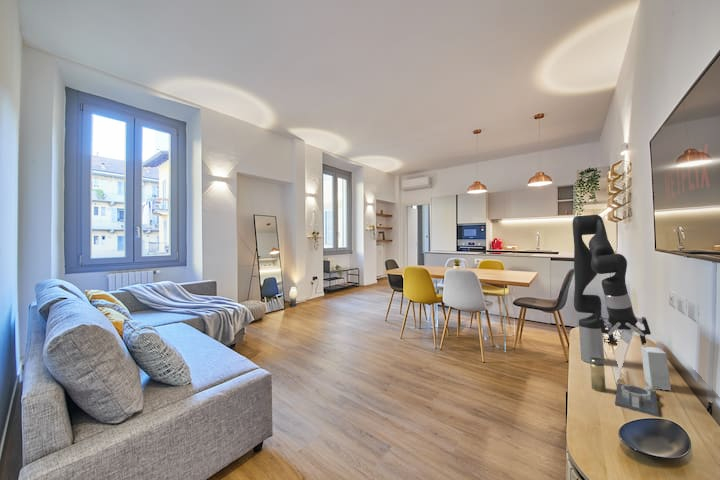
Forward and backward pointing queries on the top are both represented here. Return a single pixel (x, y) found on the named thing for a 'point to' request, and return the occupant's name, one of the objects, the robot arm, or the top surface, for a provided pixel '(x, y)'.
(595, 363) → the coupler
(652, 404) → the socket base
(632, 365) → the top surface
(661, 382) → the skincare box
